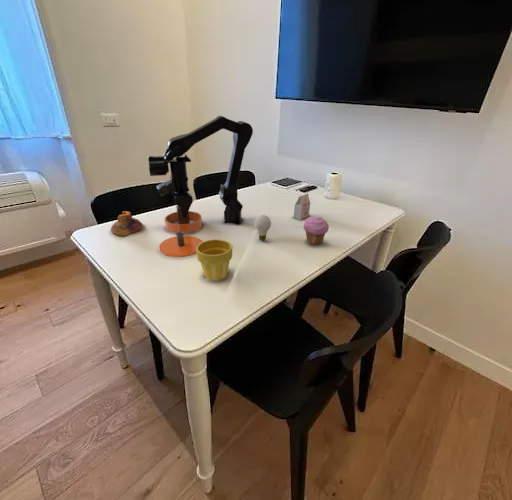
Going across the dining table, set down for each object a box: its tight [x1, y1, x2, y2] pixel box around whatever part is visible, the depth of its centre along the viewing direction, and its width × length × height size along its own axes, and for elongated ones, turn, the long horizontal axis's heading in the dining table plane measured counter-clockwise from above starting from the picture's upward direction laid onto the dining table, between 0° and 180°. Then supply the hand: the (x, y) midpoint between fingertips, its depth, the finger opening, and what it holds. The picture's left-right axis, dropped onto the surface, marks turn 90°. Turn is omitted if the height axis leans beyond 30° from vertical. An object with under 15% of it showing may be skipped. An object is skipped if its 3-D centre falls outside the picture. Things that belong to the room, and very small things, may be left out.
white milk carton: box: [293, 193, 311, 221], centre depth 132 cm, size 4×7×10 cm, turn 139°
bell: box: [110, 210, 144, 237], centre depth 117 cm, size 12×12×7 cm
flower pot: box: [196, 238, 233, 281], centre depth 90 cm, size 10×10×10 cm
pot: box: [164, 210, 203, 234], centre depth 121 cm, size 14×14×4 cm
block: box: [175, 205, 191, 224], centre depth 120 cm, size 4×4×8 cm
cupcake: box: [302, 215, 330, 246], centre depth 110 cm, size 9×9×10 cm
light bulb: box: [254, 214, 272, 242], centre depth 110 cm, size 6×6×10 cm
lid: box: [158, 232, 203, 258], centre depth 105 cm, size 15×15×6 cm
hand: (183, 213), depth 119 cm, fingers open, 9 cm apart
